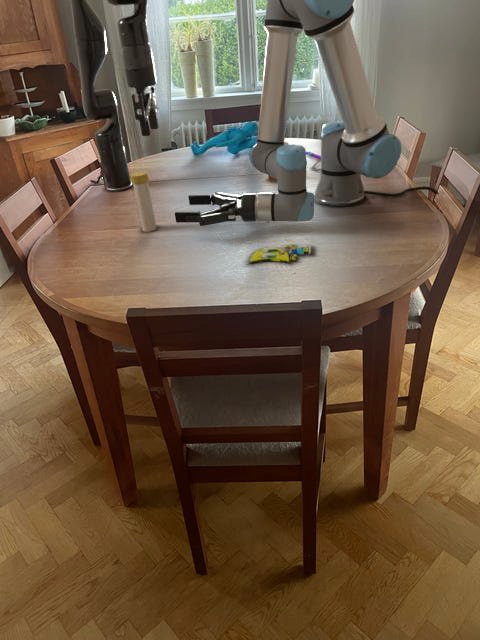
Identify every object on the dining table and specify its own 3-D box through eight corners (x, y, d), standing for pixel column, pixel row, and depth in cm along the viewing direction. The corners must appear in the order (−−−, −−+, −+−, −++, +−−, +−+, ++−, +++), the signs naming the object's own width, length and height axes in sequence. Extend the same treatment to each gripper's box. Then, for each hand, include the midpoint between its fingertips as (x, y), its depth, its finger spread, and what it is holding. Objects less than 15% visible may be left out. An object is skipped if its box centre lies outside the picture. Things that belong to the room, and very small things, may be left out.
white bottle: (151, 232, 139) (140, 177, 131) (139, 231, 141) (128, 176, 132) (159, 227, 143) (149, 173, 134) (147, 225, 144) (137, 172, 136)
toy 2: (311, 260, 114) (248, 260, 116) (311, 263, 115) (248, 263, 117) (311, 242, 123) (252, 243, 125) (311, 245, 123) (253, 246, 125)
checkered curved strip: (342, 175, 173) (362, 153, 185) (341, 169, 172) (361, 148, 184) (283, 174, 186) (305, 153, 198) (282, 169, 184) (305, 148, 196)
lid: (142, 184, 131) (140, 176, 130) (127, 183, 133) (126, 175, 132) (152, 178, 135) (151, 171, 134) (138, 177, 137) (136, 170, 136)
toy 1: (196, 135, 216) (258, 115, 205) (204, 158, 221) (266, 140, 210) (185, 145, 202) (251, 124, 192) (194, 169, 207) (259, 150, 197)
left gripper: (133, 64, 128) (144, 127, 137) (116, 69, 117) (129, 139, 125) (160, 61, 127) (170, 126, 136) (145, 67, 116) (157, 137, 124)
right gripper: (250, 238, 123) (171, 238, 127) (264, 204, 143) (195, 205, 147) (248, 210, 119) (167, 211, 123) (262, 179, 139) (192, 181, 143)
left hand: (150, 132), depth 131 cm, fingers open, 8 cm apart
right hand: (182, 208), depth 135 cm, fingers open, 13 cm apart
